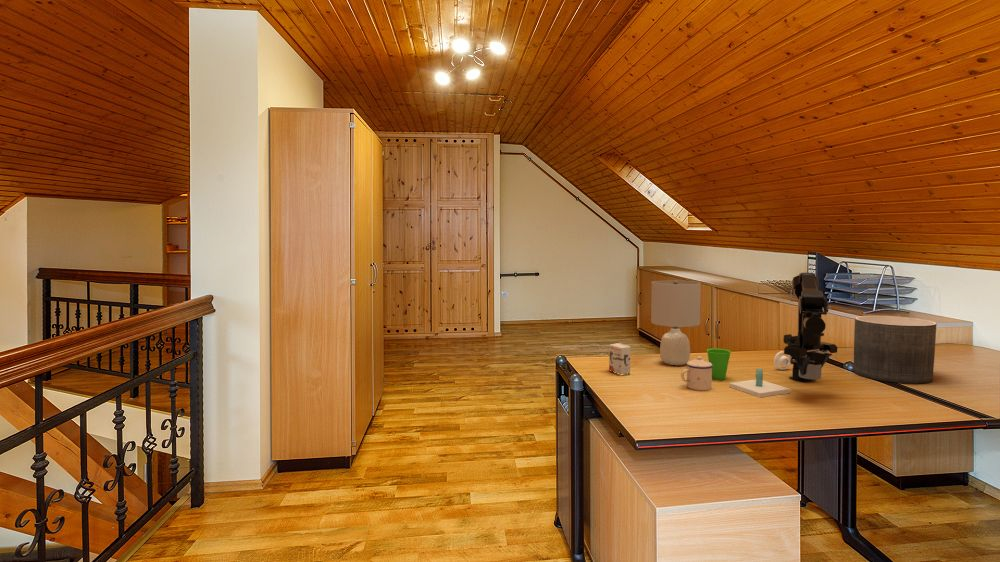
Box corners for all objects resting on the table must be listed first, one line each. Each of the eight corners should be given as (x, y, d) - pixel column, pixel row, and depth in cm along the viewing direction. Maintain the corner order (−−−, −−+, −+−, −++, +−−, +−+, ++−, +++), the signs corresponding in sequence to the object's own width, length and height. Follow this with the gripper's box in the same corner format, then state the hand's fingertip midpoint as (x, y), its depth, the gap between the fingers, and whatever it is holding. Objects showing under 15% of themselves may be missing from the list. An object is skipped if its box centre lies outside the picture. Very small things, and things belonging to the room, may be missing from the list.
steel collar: (808, 373, 183) (808, 359, 182) (825, 378, 177) (825, 363, 176) (794, 375, 180) (795, 361, 180) (811, 380, 174) (811, 365, 174)
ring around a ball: (776, 371, 212) (777, 352, 212) (767, 368, 218) (768, 349, 217) (794, 370, 214) (794, 351, 213) (784, 367, 219) (785, 348, 219)
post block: (758, 382, 196) (758, 363, 195) (790, 392, 183) (790, 372, 182) (729, 386, 191) (729, 367, 191) (759, 397, 178) (760, 376, 178)
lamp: (654, 368, 219) (654, 282, 217) (648, 358, 239) (649, 279, 237) (704, 370, 216) (705, 282, 213) (694, 359, 236) (695, 279, 233)
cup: (733, 381, 198) (733, 353, 197) (708, 380, 200) (708, 353, 199) (727, 375, 207) (728, 348, 206) (703, 374, 209) (704, 348, 208)
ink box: (608, 371, 216) (608, 343, 215) (617, 370, 218) (617, 342, 218) (621, 376, 209) (621, 347, 208) (631, 374, 211) (631, 346, 210)
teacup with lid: (702, 383, 197) (702, 353, 196) (717, 389, 188) (718, 358, 187) (674, 385, 194) (674, 355, 193) (688, 392, 185) (689, 360, 184)
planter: (943, 377, 201) (946, 321, 199) (919, 388, 186) (922, 328, 184) (867, 364, 221) (870, 313, 220) (841, 374, 207) (843, 319, 205)
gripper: (810, 324, 188) (808, 366, 189) (771, 327, 182) (770, 371, 183) (839, 328, 178) (837, 373, 179) (799, 332, 171) (797, 378, 172)
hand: (809, 373), depth 178 cm, fingers closed on steel collar, 6 cm apart
